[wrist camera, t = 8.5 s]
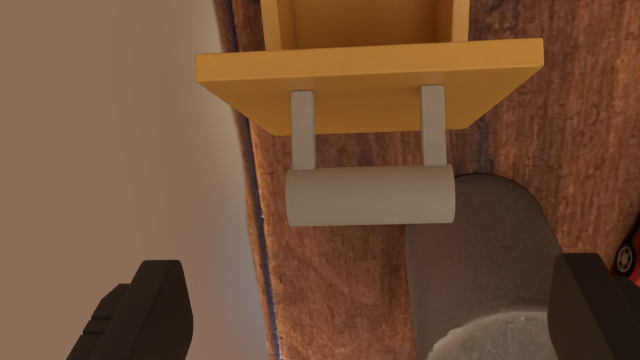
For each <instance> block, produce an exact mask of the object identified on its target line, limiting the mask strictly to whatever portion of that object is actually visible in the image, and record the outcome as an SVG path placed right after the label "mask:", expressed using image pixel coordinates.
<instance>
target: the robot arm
mask: <svg viewBox="0 0 640 360" xmlns="http://www.w3.org/2000/svg"><path fill="white" fill-rule="evenodd" d="M547 322H548V331H549V336H550V340H551V343H552V345H553V348H554V350H555V353H556V355H557V358H558V360H640V287H639V286H638V285H636V284H635V283H634V282H632V281H631V280H630V279H628V278H627V277H612V276H611V274H610V272H609V271H608V269H607V267H606V265H605V264H604V262H603V260H602V259H601V257H600V256H599V255H598V254H597V253H559V254H557V256H556V258H555V263H554V269H553V276H552V283H551V290H550V297H549V304H548V312H547ZM192 335H193V314H192V309H191V305H190V300H189V295H188V291H187V286H186V281H185V277H184V272H183V268H182V265H181V262H180V261H179V260H145V261H143V262H142V263H141V265H140V267H139V269H138V270H137V272H136V274H135V276H134V278H133V280H132V282H131V284H119V285H118V286H117V287H115V288H114V289H113V290H112V291H111V292H110V293H108V294H107V295H106V296H105V297H104V298H102V299H101V301H100V303H99V305H98V306H97V308H96V310H95V311H94V313H93V315H92V317H91V320H89V322H88V323H87V325H86V327H85V328H84V330H83V335H80V337H79V339H78V341H77V342H76V344H75V345H74V347H73V349H72V351H71V352H70V354H69V356H68V357H67V359H66V360H185V358H186V355H187V353H188V349H189V347H190V344H191V340H192Z"/></svg>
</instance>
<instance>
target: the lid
mask: <svg viewBox="0 0 640 360" xmlns="http://www.w3.org/2000/svg"><path fill="white" fill-rule="evenodd" d="M543 66H544V50H543V39H542V38H523V39H502V40H481V41H461V42H440V43H419V44H398V45H377V46H356V47H336V48H315V49H294V50H273V51H252V52H232V53H211V54H197V55H195V80H196V82H197V83H199V84H200V85H202V86H203V87H205V88H206V89H207V90H209V91H210V92H212V93H213V94H214V95H216V96H217V97H219V98H220V99H222V100H223V101H225V102H226V103H227V104H229V105H230V106H231V107H233V108H234V109H236V110H237V111H239V112H240V113H241V114H243V115H244V116H246V117H247V118H248V119H250V120H251V121H253V122H254V123H256V124H257V125H258V126H260V127H261V128H263V129H264V130H265V131H267V132H268V133H270V134H271V135H273V136H283V135H291V147H292V169H289V170H288V171H287V174H286V183H285V204H286V215H287V220H288V224H289V226H291V227H294V226H337V225H380V224H423V223H451V222H453V220H454V216H455V181H454V173H453V169H452V166H451V165H450V164H447V160H446V132H445V130H449V129H466V128H467V127H469V126H470V125H471V124H472V123H473V122H475V121H476V120H477V119H478V118H480V117H481V116H482V115H483V114H485V113H486V112H487V111H488V110H490V109H491V108H492V107H493V106H495V105H496V104H497V103H498V102H500V101H501V100H502V99H503V98H504V97H506V96H507V95H508V94H509V93H511V92H512V91H513V90H514V89H516V88H517V87H518V86H519V85H521V84H522V83H523V82H524V81H526V80H527V79H528V78H529V77H531V76H532V75H533V74H534V73H536V72H537V71H538V70H539V69H540V68H542V67H543ZM394 131H420V134H421V164H422V165H399V166H367V167H335V168H316V143H315V134H339V133H366V132H394Z"/></svg>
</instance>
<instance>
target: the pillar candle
mask: <svg viewBox="0 0 640 360" xmlns="http://www.w3.org/2000/svg"><path fill="white" fill-rule="evenodd" d="M454 181H455V216H454V220H453V222H451V223H423V224H405V231H404V247H405V255H406V266H407V278H408V287H409V295H410V304H411V313H412V322H413V330H414V339H415V348H416V356H417V360H558V358H557V355H556V353H555V350H554V348H553V345H552V343H551V340H550V336H549V331H548V322H547V312H548V304H549V297H550V290H551V283H552V276H553V269H554V263H555V258H556V256H557V254H559V253H563V251H562V248H561V247H560V245H559V242H558V240H557V239H556V237H555V235H554V233H553V231H552V229H551V227H550V225H549V222H548V220H547V219H546V217H545V215H544V214H543V211H542V209H541V207H540V205H539V203H538V202H537V200H536V198H535V197H534V196H533V195H532V194H531V193H530V192H529V191H528V190H526V189H525V188H524V187H522V186H521V185H519V184H517V183H516V182H514V181H511V180H508V179H506V178H502V177H499V176H495V175H489V174H472V175H464V176H460V177H456V178H454Z"/></svg>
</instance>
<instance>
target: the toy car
mask: <svg viewBox="0 0 640 360" xmlns="http://www.w3.org/2000/svg"><path fill="white" fill-rule="evenodd" d="M631 243H632V244H633V245H630V244H623V245H622V246H621V247H620V248H619V250H618V252H617V256H616V268H617V271H618V272H619V275H620V277H627V278H628V279H630V280H631V281H632V282H634V283H635V284H636V285H638V286H639V287H640V225H639V227H638V229H637V231H636V233H635V235H634V237H633V238H632V240H631ZM614 277H619V276H618V275H617V273H616V272H615V274H614Z"/></svg>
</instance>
